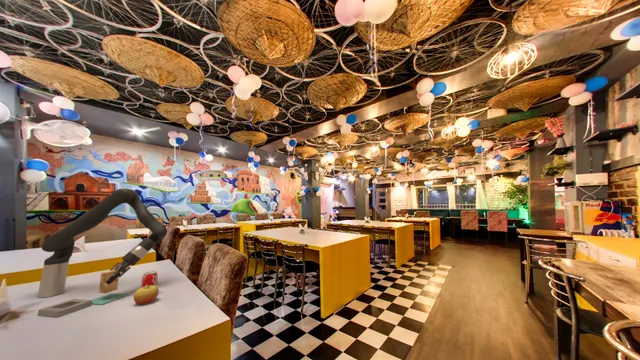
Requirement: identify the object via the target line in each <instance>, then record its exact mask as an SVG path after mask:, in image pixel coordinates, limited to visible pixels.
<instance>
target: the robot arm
mask: <svg viewBox="0 0 640 360" xmlns="http://www.w3.org/2000/svg"><path fill="white" fill-rule="evenodd" d="M123 204H127V205H129V206H130V207H131V208H132V209H133V211H134V212H135V216H136V217H137V219H138V221H139V222H140V224H141V225H143V227H144V228H146V229H148V230H149V231H150V232H151V234H150V235H148V237H147V238H146V237H145V238H144V239H143V240H142V241H140V242H139V243H138V244H137V245H136V246H134V247H133V248H132V249H131V250H129V251H128V252H127V253H126V254H125V255H124V256H122V258H121V260H122V262H116V264H115V265H114V266H113V267H111V268H110V269H109V270H108V271H111V270H116V271H115V274H114V275H113V276H112V277H110V278H109V279H108V280H107V281H106V283H107V284H111V283H112V282H113V281H114V280H115V279H116V278H118V279H119V278H121V277H122V276H123V275H125V274H126V273H127V272H128V271H129V270H131V266H132V267H133V266H135V265H136V264H138V263H139V262H140V261H141V260H142V259H143V258H144V257H145V256H146V254H148V253H149V252H150V251H151V250H152V249H153V248H154V247H155V246H156V245H157V244H158V243H160V242H161V241H162V240H163V239H164V238H165V237H166V236H167V234H168V229H167V227H166V226H165V225H164V224H162V223H161V222H160V221H158V219H157V218H156V217H155V216H154V215H153V214H152V212H150V211H149V209H148V208H147V206H145V204H144V202H143V201H142V200H141V198H140V196H139V195H138V193H137V192H136V191H135V190H134V189H130V188H118V189H116V190H114V191H113V192H112V193H110V194H109V195H108V196H107V197H106V198H105V199H104V200H102V201H101V202H99V203H98V204H97V205H95V206H94V207H93V208H91V209H89V210H88V211H87V212H85V213H84V214H82V215H81V216H79V217H78V218H77V219H75V220H74V221H72V222H71V223H69V224H68V225H67V226H65V227H63V228H61V229H60V230H59V231H57V232H55V233H54V234H51V235H50V236H48V237H47V238H46V239H44V241H43V242H42V243H41V250H42V251H43V252H46V253H53V254H52V255H50V256H49V257H47V258H45V260H44V262H43V267H42V271H41V272H42V273H41V277H40V282H39V287H38V292H37V297H38V298H41V299H43V298H48V297H49V298H50V297H54V296H58V295H61V294H63V293H64V292H65V290H66V284H67V277H68V272H69V271H68V269H69V264H70V259H71V257H72V255H73V253H74V247H75V243H76V242H75V241H76V240H75V237H76V236H79V235H81V234H82V233H85V232H89V231H90V230H92V229H94V228H95V227H97V226H99V225H100V224H101V223H102V222H104V221H105V220H106V219H107V218H108V216H109V214H110V213H111V211H113V210H114V209H116V208H117V207H119V206H120V205H123Z"/></svg>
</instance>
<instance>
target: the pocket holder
mask: <svg viewBox="0 0 640 360" xmlns="http://www.w3.org/2000/svg"><path fill="white" fill-rule="evenodd" d="M92 300H93V299H82V298H81V299H80V298H71V299H69V300H66V301H63V302H59V303H56V304H52V305H49V306H47V307H44V308H40V309H38V312H37V317H45V318H46V317H47V318H62V317H63V316H66V315H69V314H72V313H75V312H77V311H79V310H80V311H81V310H83V309H85V308H89V307H92V306H93V305H92Z"/></svg>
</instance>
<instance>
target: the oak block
mask: <svg viewBox="0 0 640 360" xmlns="http://www.w3.org/2000/svg"><path fill="white" fill-rule="evenodd" d="M110 270H111V269H110ZM115 271H116V270H111V271H109V270H108V271H103V272H100V280H99V287H98V293H99V294H110V293H112V292H114V291H117V290H118V285H119V277H118V278H116V279H115V280H114V281H113V282H112V283H111V284H107V283H106V281H107V280H108V279H109V278H110V277H112V276H113V275H114V274H115Z"/></svg>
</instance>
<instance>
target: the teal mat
mask: <svg viewBox="0 0 640 360" xmlns="http://www.w3.org/2000/svg"><path fill="white" fill-rule="evenodd" d="M128 296H129V294H128V293H127V294H125V293H112V292H109V293H107V294H104V295H103V296H99V297H95V298H93V299H91V300H92V306H103V305H106V304H110V303H112V302H114V301H118V300H120V299H123V298H126V297H128Z"/></svg>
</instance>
